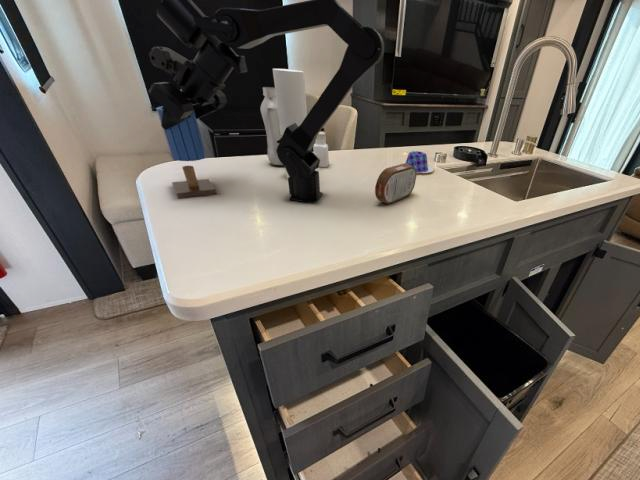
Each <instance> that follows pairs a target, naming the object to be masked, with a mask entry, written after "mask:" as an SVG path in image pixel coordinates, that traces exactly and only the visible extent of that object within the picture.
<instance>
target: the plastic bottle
mask: <svg viewBox="0 0 640 480" xmlns="http://www.w3.org/2000/svg"><path fill="white" fill-rule="evenodd" d="M262 92H263V93H262V95H263V96H264V98H263V100H262V102H261V104H260V108H259V110H260V114H261V119H262V120H263V124H264V129H265V134H266V144H267V145H266V146H267V149H266V150H267V151H266V156H267V158H268V161H269V163H270V164H271V165H275V166H284V165H283V164H282V163H281V162H280V160H279V158H278V155H277V152H276V150H277V147H278V145H279V143H277V141H278V140H280V139H281V133H280V125H279V117H278V109H277V100H276V92H275V87H273V86H272V87H271V86H263V87H262Z"/></svg>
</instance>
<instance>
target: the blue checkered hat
mask: <svg viewBox="0 0 640 480" xmlns="http://www.w3.org/2000/svg"><path fill="white" fill-rule="evenodd" d="M404 163H406V164H408V165H410V166H412V167H414V168H415V169H416V172H417V174H428V173H432V172H433V171H434V170H435V168H434V167H433V166H432V165H429V164H428V156H427V153H425V152H423V151H418V150H416V151H415V150H412V151H410V152H408V155H407V158H406V160H405V162H401V163H399V164H398V165H400V164H404Z"/></svg>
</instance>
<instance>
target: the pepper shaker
mask: <svg viewBox="0 0 640 480" xmlns="http://www.w3.org/2000/svg"><path fill="white" fill-rule="evenodd" d="M326 138H327V137H326V132H324V131H320V132H319V133H318V135H317V138H316V141H315V143H314V146H313V148H312V150H313V151H312V152H313V153H314V154H315V155H316V156H317V157H318V158H319V159H320V163H319V166H318V168H327V167H328V166H329V164H330V158H329V144H327V143H326V140H327V139H326Z"/></svg>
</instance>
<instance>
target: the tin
mask: <svg viewBox="0 0 640 480" xmlns="http://www.w3.org/2000/svg"><path fill="white" fill-rule="evenodd" d="M403 163H404V164H401V163H399V164H400V165H399V164H396V165H393V166H389V167H386V168H385V169H383V170H382V171H381V173H379V176H377V177H378V178H377V179H376V182H375V188H374V194H375V197H376V200H377V201H379V202H382V203H384V204H388V205H390V204H392V203H395V202H397V201H400V200H403V199H405V198H407V197H408V196H410V195H411V193H412V192H413V190H414V188H415V185H416V181H417V174H418V173H417V172H416V169H415V168H414V167H412V166H410V165H408V164H406V163H405V162H403Z"/></svg>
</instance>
